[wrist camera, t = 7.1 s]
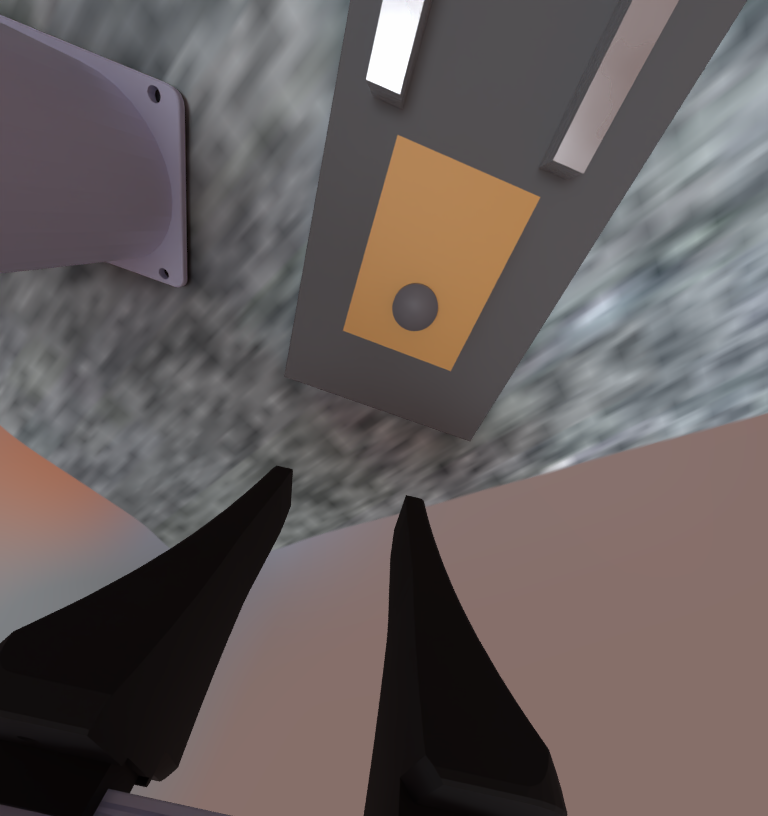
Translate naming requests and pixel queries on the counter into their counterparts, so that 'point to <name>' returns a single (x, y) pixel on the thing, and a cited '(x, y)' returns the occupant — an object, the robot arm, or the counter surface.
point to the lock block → (434, 253)
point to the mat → (492, 154)
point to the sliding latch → (593, 98)
